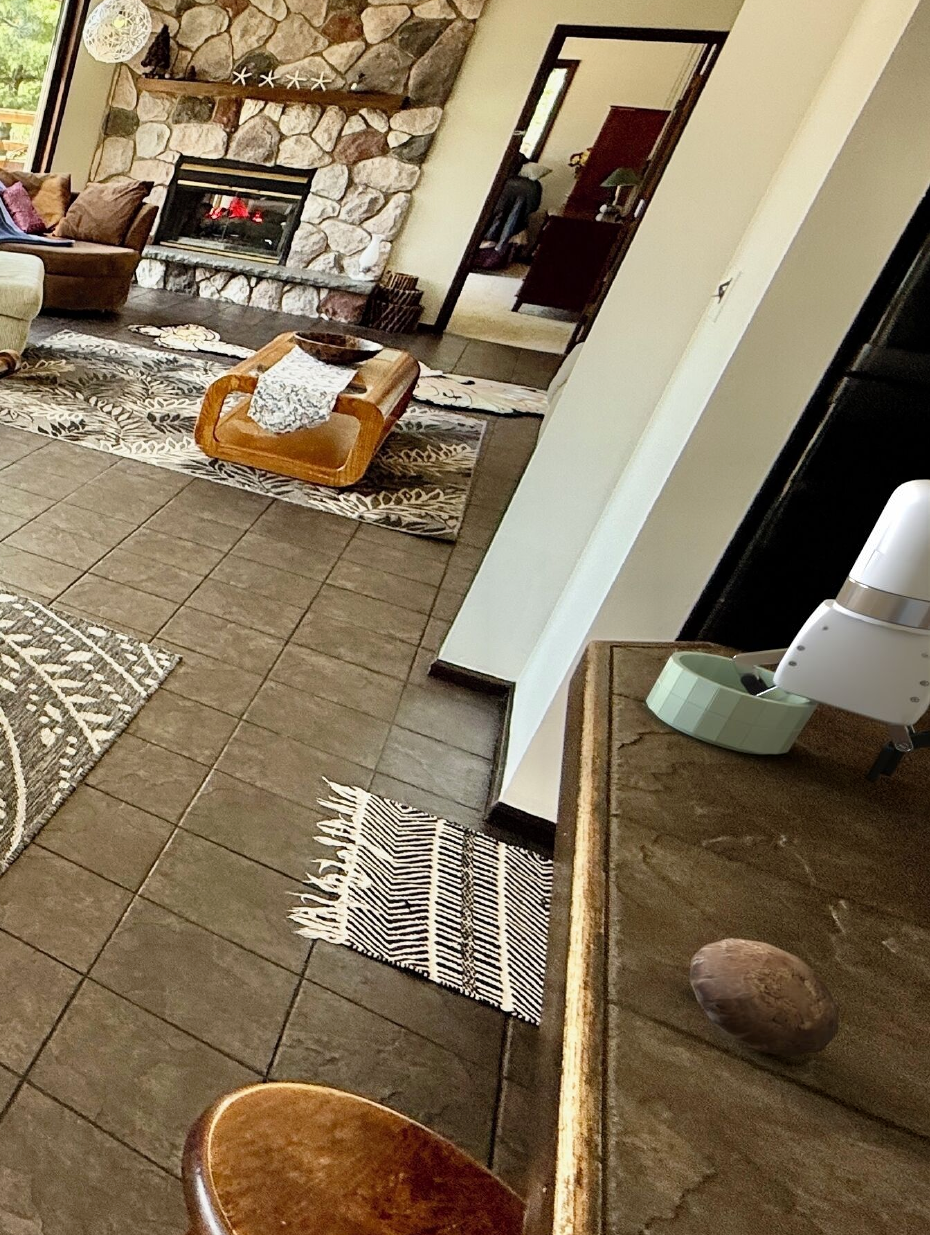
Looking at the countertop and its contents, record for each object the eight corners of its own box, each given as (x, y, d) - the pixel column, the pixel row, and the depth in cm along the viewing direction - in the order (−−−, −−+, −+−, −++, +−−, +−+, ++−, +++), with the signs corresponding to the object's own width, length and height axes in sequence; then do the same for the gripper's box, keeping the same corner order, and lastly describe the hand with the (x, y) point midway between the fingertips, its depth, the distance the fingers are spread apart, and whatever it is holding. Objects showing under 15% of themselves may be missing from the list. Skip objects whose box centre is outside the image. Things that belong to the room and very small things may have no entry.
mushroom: (669, 920, 78) (752, 905, 73) (783, 999, 76) (878, 990, 70) (636, 1003, 76) (720, 994, 70) (754, 1088, 73) (850, 1085, 68)
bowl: (713, 704, 119) (742, 655, 116) (818, 762, 109) (852, 710, 106) (616, 696, 119) (643, 647, 116) (711, 754, 108) (743, 702, 106)
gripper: (1043, 633, 97) (945, 789, 103) (779, 568, 110) (706, 710, 117) (1034, 650, 93) (932, 812, 99) (761, 580, 106) (687, 727, 113)
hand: (811, 756), depth 108 cm, fingers open, 8 cm apart
